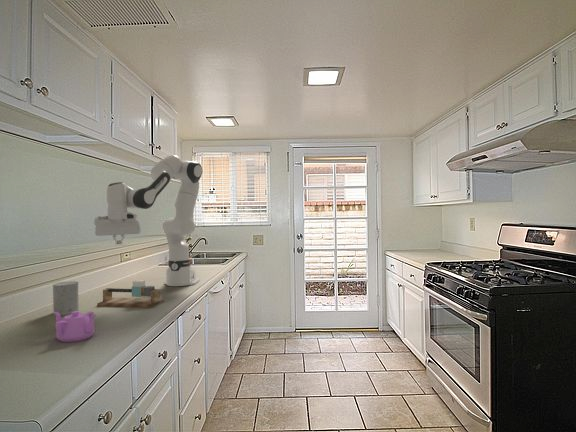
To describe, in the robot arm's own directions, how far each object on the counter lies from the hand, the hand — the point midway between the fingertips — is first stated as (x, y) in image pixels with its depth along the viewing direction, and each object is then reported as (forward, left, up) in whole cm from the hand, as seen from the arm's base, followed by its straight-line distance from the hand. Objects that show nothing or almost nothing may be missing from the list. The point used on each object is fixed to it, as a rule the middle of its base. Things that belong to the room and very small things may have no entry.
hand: (119, 244), depth 193 cm
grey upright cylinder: (+26, -8, -27) cm, 38 cm away
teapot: (+56, +20, -27) cm, 65 cm away
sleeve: (+8, +15, -23) cm, 28 cm away
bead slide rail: (+8, +11, -23) cm, 26 cm away
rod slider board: (+8, +11, -27) cm, 30 cm away
